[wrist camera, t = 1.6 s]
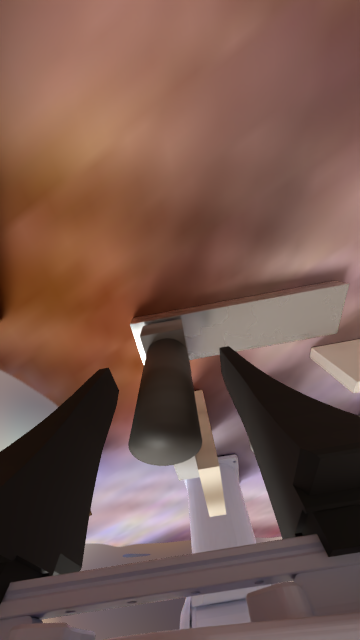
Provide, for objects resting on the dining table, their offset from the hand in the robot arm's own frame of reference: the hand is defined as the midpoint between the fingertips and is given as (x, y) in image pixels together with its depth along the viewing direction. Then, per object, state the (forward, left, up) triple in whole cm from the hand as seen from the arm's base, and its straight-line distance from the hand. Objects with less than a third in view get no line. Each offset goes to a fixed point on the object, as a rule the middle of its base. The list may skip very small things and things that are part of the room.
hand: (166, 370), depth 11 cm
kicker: (-6, 0, -4) cm, 8 cm away
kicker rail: (0, -6, -5) cm, 8 cm away
